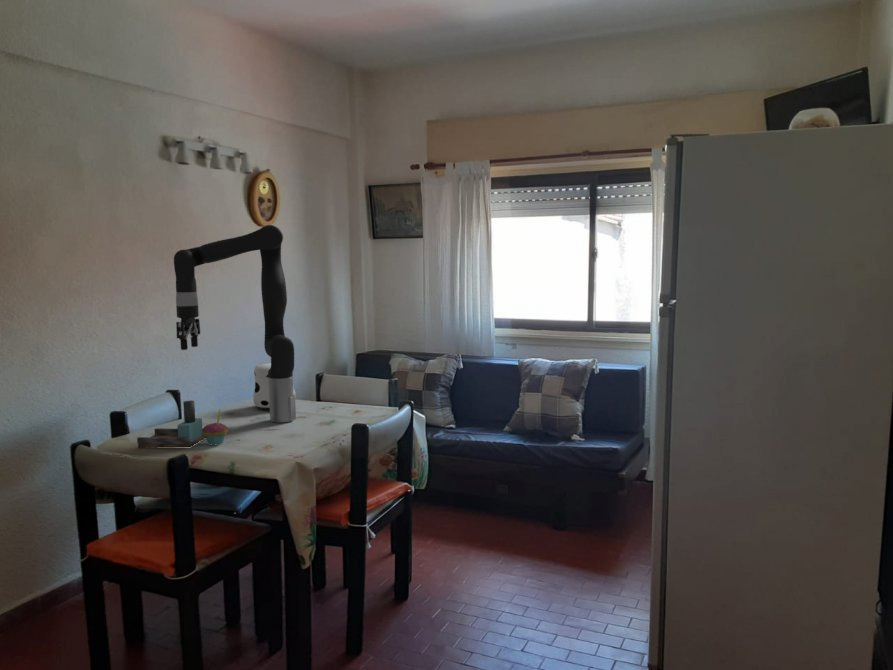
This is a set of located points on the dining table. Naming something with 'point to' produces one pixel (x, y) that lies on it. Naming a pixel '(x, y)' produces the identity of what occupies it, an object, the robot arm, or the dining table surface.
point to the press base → (166, 439)
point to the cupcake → (215, 432)
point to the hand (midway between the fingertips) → (189, 348)
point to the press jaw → (190, 423)
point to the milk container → (262, 386)
